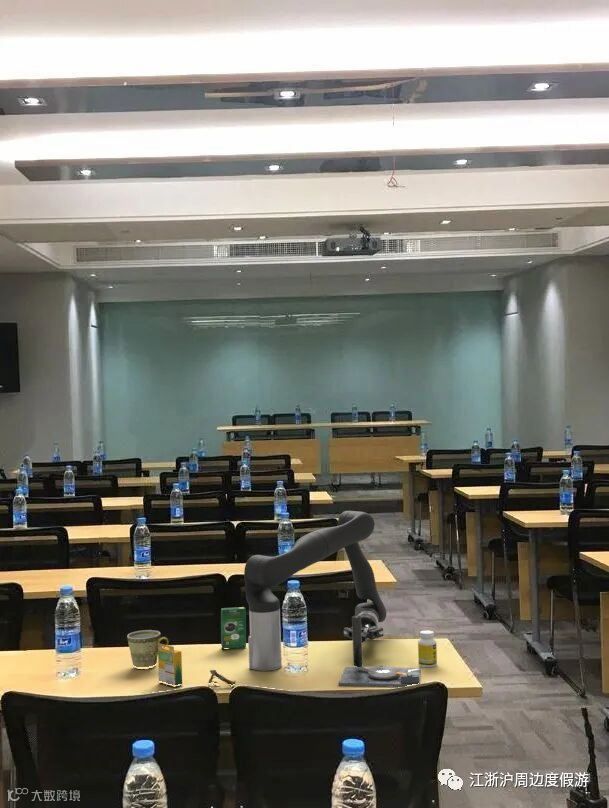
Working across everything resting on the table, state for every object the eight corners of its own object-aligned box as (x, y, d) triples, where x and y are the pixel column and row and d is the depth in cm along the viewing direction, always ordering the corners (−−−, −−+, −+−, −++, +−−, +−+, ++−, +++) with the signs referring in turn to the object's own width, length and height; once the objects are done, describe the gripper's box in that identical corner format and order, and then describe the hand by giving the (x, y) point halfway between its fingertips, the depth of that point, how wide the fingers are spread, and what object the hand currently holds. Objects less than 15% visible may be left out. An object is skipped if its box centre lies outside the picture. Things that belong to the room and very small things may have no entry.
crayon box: (183, 685, 241) (181, 644, 241) (174, 688, 239) (173, 646, 239) (166, 680, 246) (165, 640, 246) (158, 683, 244) (157, 642, 244)
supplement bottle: (436, 668, 249) (435, 634, 249) (418, 667, 250) (416, 634, 250) (437, 662, 254) (436, 629, 255) (419, 662, 256) (418, 629, 256)
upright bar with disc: (416, 675, 240) (414, 620, 240) (399, 683, 233) (397, 627, 233) (363, 664, 252) (361, 613, 252) (345, 672, 245) (343, 619, 245)
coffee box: (245, 645, 281) (244, 605, 281) (247, 648, 278) (245, 607, 278) (221, 648, 279) (219, 607, 279) (222, 650, 276) (221, 609, 276)
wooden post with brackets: (207, 681, 242) (212, 666, 241) (230, 694, 239) (236, 680, 239) (204, 683, 240) (209, 668, 239) (228, 696, 237) (233, 682, 237)
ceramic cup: (122, 671, 257) (121, 638, 257) (136, 661, 266) (135, 629, 267) (162, 673, 254) (161, 639, 254) (175, 663, 263) (174, 630, 263)
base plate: (338, 685, 236) (338, 671, 236) (345, 669, 251) (344, 656, 251) (419, 687, 232) (418, 672, 233) (420, 670, 247) (420, 657, 247)
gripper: (345, 613, 275) (338, 626, 258) (386, 613, 273) (382, 627, 256) (346, 636, 275) (339, 651, 258) (387, 636, 273) (383, 652, 256)
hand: (360, 639), depth 257 cm, fingers closed
